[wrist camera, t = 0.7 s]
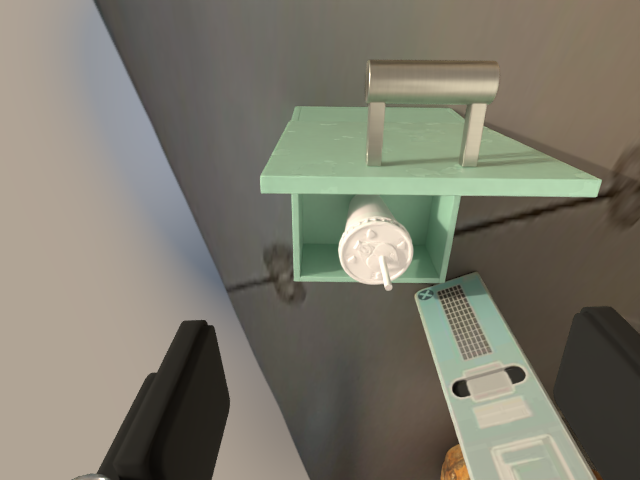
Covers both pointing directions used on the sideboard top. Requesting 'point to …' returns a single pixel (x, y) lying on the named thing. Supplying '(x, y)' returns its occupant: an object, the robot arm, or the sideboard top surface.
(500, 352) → the device
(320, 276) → the mint green open crate
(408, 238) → the smoothie
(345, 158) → the lid
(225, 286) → the sideboard top surface
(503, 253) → the sideboard top surface
